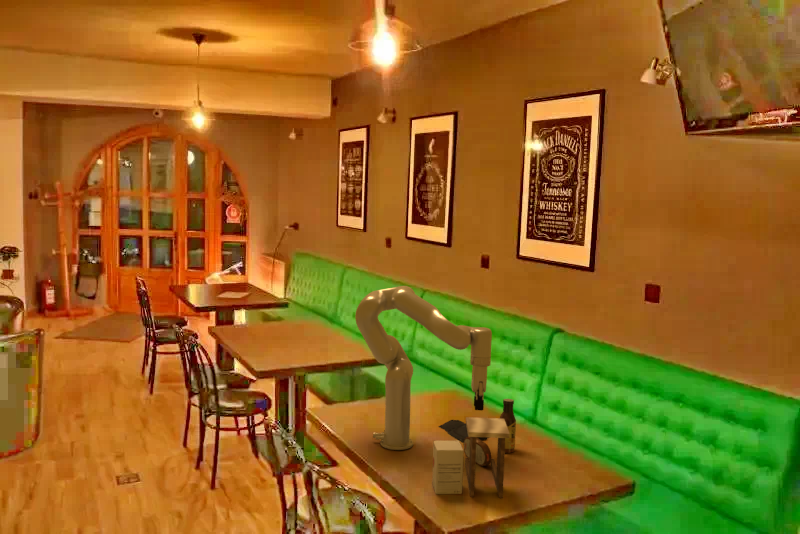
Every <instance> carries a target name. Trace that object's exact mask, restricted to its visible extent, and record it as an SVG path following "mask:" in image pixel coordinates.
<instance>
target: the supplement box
mask: <svg viewBox="0 0 800 534" xmlns="http://www.w3.org/2000/svg"><path fill="white" fill-rule="evenodd" d="M464 454H465V452H464V447H463V446H462V444H461V442H460V441H459V440H433V449H432V475H431V476H432V480H431V481H432V482H431V483H432V486H433V490H434V493H435V495H455V494H456V495H458V494H459V495H462V494H463V477H464V476H463V474H464V472H463V471H464Z"/></svg>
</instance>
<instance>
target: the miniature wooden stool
mask: <svg viewBox="0 0 800 534" xmlns="http://www.w3.org/2000/svg"><path fill="white" fill-rule="evenodd" d="M465 424H466V426H467V431H468V436H469V437H470V458H468V457H465V459H464V465H465V472H466V478H467V485H468V492H469V496H470V498H474V497H475V486H476V485H475V482H476V480H475V479H476V477H475V476H476V463H475V460H476V437H490V438H493V439H495V438H497V451H496V452H497V454H496V455H497V456H496V460H495V458H491V463H490V468H491V472H492V476H493V477H492V478H493V479H494V484H495V488H496V493H497V496H498V498H499V499H503V497H504V478H505V476H504V475H505V473H504V472H505V458H506V457H505V454H506V453H505V438H509V437H510V433H509V431H508V428H507V425H506V422H505V420H504V419H500V417H499V418H496V417H494V418H493V417H491V418H490V417H469V416H466V417H465ZM490 438H489V439H490Z"/></svg>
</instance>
